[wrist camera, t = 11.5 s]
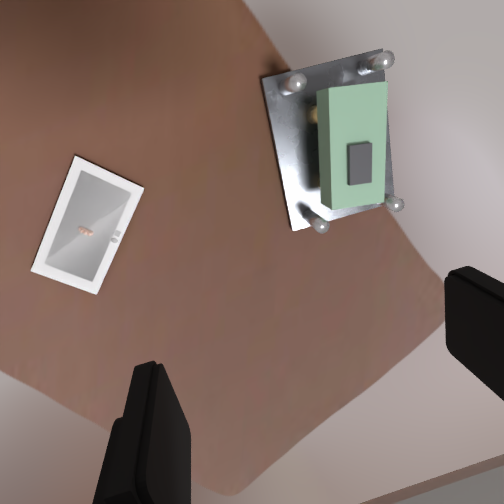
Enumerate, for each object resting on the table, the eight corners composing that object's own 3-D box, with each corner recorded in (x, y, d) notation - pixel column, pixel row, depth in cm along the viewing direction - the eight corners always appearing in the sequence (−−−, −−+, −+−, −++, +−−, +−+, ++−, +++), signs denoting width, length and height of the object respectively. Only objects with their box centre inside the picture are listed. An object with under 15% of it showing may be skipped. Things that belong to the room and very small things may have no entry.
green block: (316, 91, 36) (330, 87, 32) (370, 84, 37) (391, 80, 33) (320, 203, 40) (334, 211, 37) (369, 195, 41) (387, 203, 37)
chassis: (260, 79, 38) (272, 72, 33) (378, 50, 39) (408, 38, 34) (290, 228, 45) (304, 243, 40) (390, 200, 46) (417, 211, 41)
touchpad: (34, 267, 42) (26, 274, 40) (78, 154, 38) (72, 156, 36) (98, 290, 44) (94, 298, 42) (145, 186, 41) (143, 190, 39)
